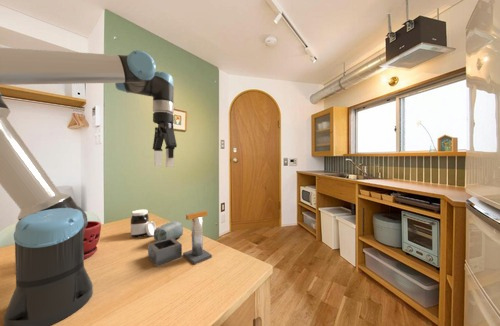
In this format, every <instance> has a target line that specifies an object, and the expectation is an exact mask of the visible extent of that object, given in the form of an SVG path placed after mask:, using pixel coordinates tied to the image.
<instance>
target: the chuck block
mask: <svg viewBox="0 0 500 326" xmlns="http://www.w3.org/2000/svg"><path fill="white" fill-rule="evenodd" d="M147 249H148V250H147V258H148V259H149V260H150V261H151V262H152V263H153V265H154V266H155V267H156V268H157V267H160V266H162V265H166V264H167V263H171V262H173V261H176V260H179V259H181V258H183V251H182V250H183V247H182V243H181V242H179V241H178V240H176V239H174V238H172V237H171V238H168V239H164V240H161V241H157V242H156V241H154V242H150V243H147Z"/></svg>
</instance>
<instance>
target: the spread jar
mask: <svg viewBox="0 0 500 326" xmlns="http://www.w3.org/2000/svg"><path fill="white" fill-rule="evenodd" d="M148 212H149V211H148V209H137V210H132V211H131V217H130V236H131V238H141V237H145V236H148V237H152V236H153V237H154V230H155V229H156V228H158V227H157V225H156V223H155V222H154V221H150V219H149V217H150V216H149V214H148Z"/></svg>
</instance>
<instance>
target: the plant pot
mask: <svg viewBox="0 0 500 326" xmlns="http://www.w3.org/2000/svg"><path fill="white" fill-rule="evenodd" d="M101 228H102V223H101V222H100V221H96V220H95V221H94V220H89V221H88V220H87V226H86V229H85V232H84V240H83V244H84V260H85V259H87V258H89V257H91V256H93V255H95V254H96V252H97V251H98V247H97V244H98V243H99V240H100V236H101V232H102V231H101V230H102V229H101Z"/></svg>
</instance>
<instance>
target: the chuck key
mask: <svg viewBox="0 0 500 326" xmlns="http://www.w3.org/2000/svg"><path fill="white" fill-rule="evenodd" d="M206 216H208V211H207V210H202V211H197V212H193V213H188V214H186V215H185V220H187V221H191V250H192V256H200V255H202V254H203V250H204V248H203V247H204V243H203V242H204V241H203V238H204V237H203V234H204V230H203V229H204V227H203V223H204V222H203V221H204V219H203V218H204V217H206Z"/></svg>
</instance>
